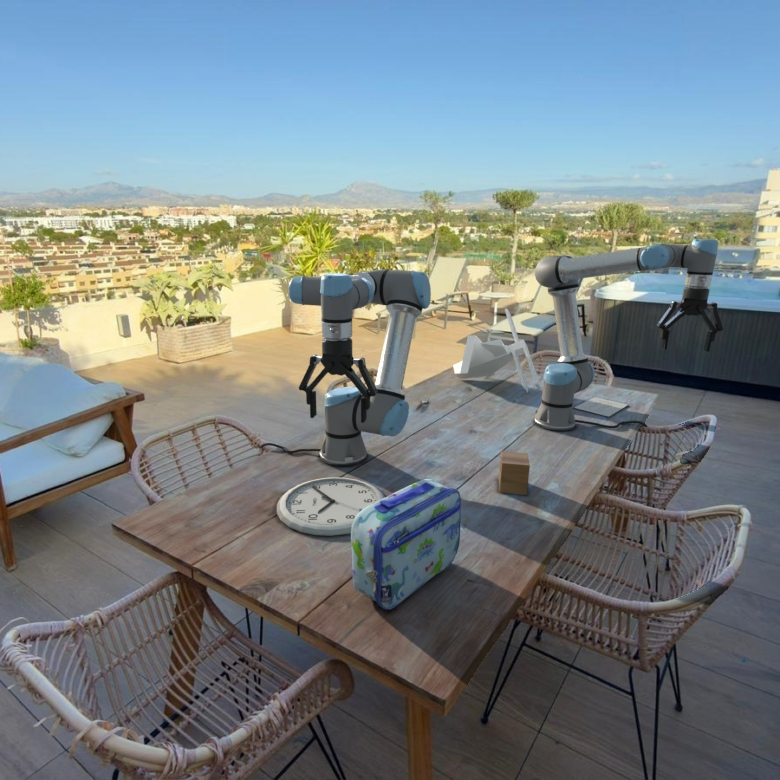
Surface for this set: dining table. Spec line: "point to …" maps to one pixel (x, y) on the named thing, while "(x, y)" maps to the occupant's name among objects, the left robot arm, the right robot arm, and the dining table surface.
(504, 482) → the brown block
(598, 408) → the invitation card
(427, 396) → the fork
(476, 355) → the white plastic object
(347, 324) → the left robot arm
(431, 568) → the lunch box
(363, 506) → the wall clock
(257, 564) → the dining table surface
